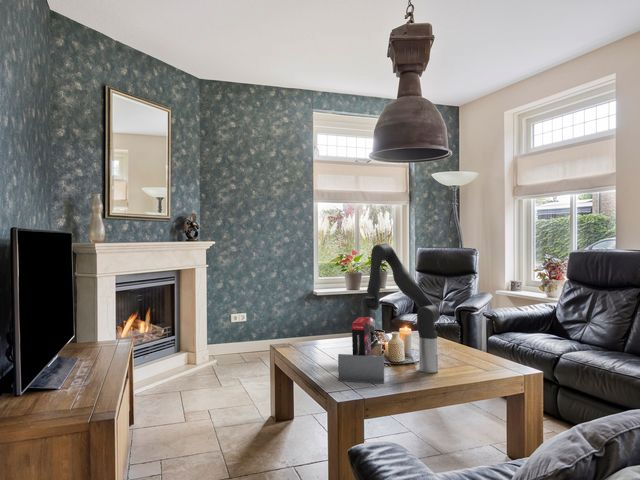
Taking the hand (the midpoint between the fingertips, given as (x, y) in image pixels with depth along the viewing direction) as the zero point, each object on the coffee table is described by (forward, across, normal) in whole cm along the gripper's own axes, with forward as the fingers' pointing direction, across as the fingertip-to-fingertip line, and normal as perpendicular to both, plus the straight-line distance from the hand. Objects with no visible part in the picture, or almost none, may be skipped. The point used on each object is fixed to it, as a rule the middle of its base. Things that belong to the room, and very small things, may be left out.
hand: (365, 355), depth 244 cm
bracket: (+16, 0, -6) cm, 17 cm away
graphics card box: (+11, -1, -2) cm, 12 cm away
